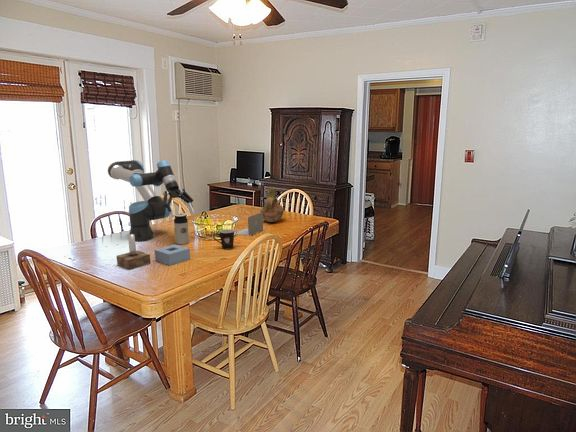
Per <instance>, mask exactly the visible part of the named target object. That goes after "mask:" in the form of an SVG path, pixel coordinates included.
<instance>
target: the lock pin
mask: <svg viewBox="0 0 576 432" xmlns="http://www.w3.org/2000/svg"><path fill="white" fill-rule="evenodd" d="M127 239H128V240H127V241H128V249H129V250H128V251H129V252H130V257H133V256H137V255H136V251H137V247H136V241H135V235H134V234H128V235H127Z"/></svg>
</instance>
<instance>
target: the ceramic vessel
mask: <svg viewBox="0 0 576 432" xmlns="http://www.w3.org/2000/svg"><path fill="white" fill-rule="evenodd" d="M266 191H267V192H266V195H267V198H266V199H265V202H264V206H263V207H262V208H261V209H260V211H259V213H261V212H263V221H265V222H268V223H276V222H278V221H280V219H282V217H283V215H284V214H283V213H284V212H285V211H284V206H282V204H279V203H278V201H279V199H278V197H277V188H275V187H273V188H267V190H266Z"/></svg>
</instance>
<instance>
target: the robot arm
mask: <svg viewBox="0 0 576 432" xmlns="http://www.w3.org/2000/svg"><path fill="white" fill-rule="evenodd" d="M156 167H157V170H156V171H154V172H146V173H145V168H144V165H143V163H142V162H141V161H140V160H134V159H131V160H124V161H115V162H112V163H110V165H108V168H107V173H108V175H109V177H110V178H111V179H113V180H120V181H121V180H122V181H124V182H127V183H129V184H130V185H131V187H135V189H136V190H137V192H138V193H139V194H140V196H141V198H142V200H141V201H140V200H139V201H135V202H133V203H131V204H130V205H129V206H128V215H129V223H130V224H129V225H130V229H129V234H134V235H135V242H145V241H149V240H153V238H154V237H155V236H154V232H153V230H152V227H151V225H150V224H151V221H155V220H161V219H166V218H168V217H170V216H171V218H175V214H176V213H175V212H174V209H173V207H172V205H171V203H172V200H173V199H175V198H176V199H178V198H179V199H181V200H182V201H184V202H185V203H186V206H187V207H188V210H189V212H190V215H193V214H194V213H195V211H194V209H193V208H194V206H193V202H194V199H193V198H192V196H190V194H188V193H187V192H186V190H185V188H181V189H180V187H179V183H178V182H177V180H176V176H175V174H174V172H173V169H172V167H171V164H170V162H169V161H168V160H167V159H164V160H163V159H162V160H160V161H157V163H156ZM162 184H164V187H165V189H166V190H165V191H163V193H162V195H163V197H161V196H160V195H157V194H156V192H155V190H154V189H153V188H152V186H154V187H160V186H161V185H162ZM151 185H152V186H151ZM129 234H128V235H129Z"/></svg>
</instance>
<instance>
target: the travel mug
mask: <svg viewBox="0 0 576 432" xmlns="http://www.w3.org/2000/svg"><path fill="white" fill-rule="evenodd" d="M174 214H175V216H174V220H173V224H174V236H175V237H174V239H175V244H176V245H179V246H183V245H187V244H189V243H190V238H189V237H190V235H189V221H188V217H187V214H188V213H184V212H183V213H182V212H181V213H179V212H178V213H174Z"/></svg>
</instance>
